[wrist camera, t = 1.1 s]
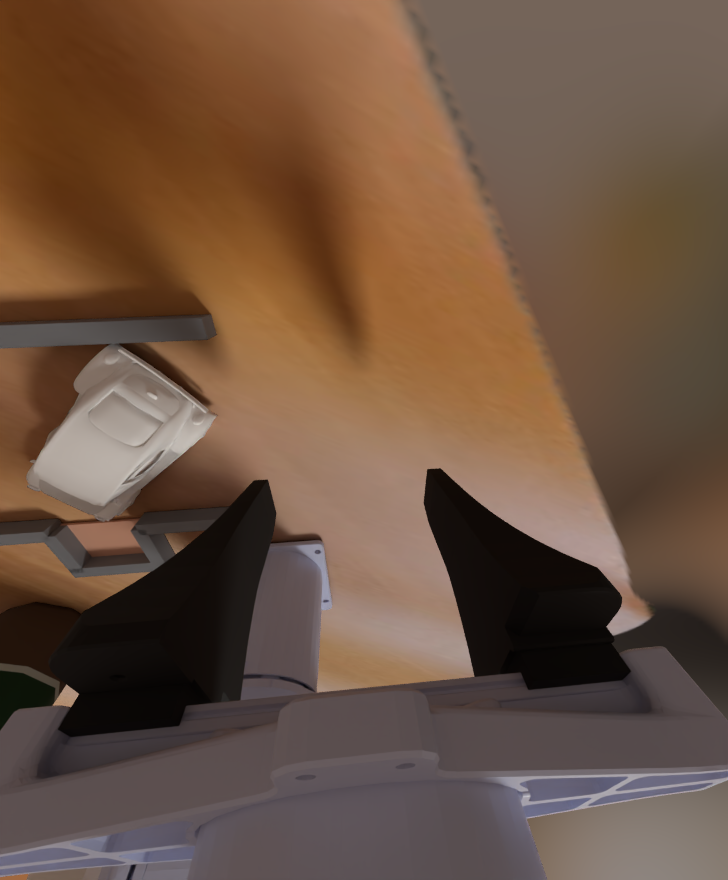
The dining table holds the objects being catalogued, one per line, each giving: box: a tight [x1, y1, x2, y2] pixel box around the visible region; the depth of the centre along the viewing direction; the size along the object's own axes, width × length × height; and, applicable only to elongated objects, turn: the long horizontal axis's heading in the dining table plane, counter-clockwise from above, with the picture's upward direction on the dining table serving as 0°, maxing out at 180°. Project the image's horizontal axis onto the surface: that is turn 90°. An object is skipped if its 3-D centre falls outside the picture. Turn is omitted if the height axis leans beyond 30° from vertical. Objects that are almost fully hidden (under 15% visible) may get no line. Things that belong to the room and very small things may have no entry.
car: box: [26, 343, 218, 522], centre depth 16 cm, size 12×6×5 cm, turn 133°
